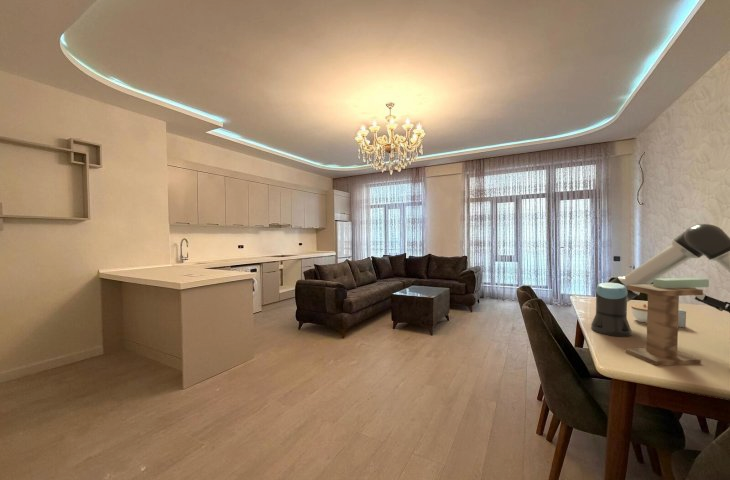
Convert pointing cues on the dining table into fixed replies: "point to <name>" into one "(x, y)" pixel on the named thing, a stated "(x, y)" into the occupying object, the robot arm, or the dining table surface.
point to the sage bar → (680, 282)
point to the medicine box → (681, 318)
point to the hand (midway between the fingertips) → (712, 293)
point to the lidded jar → (640, 312)
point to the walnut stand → (663, 325)
